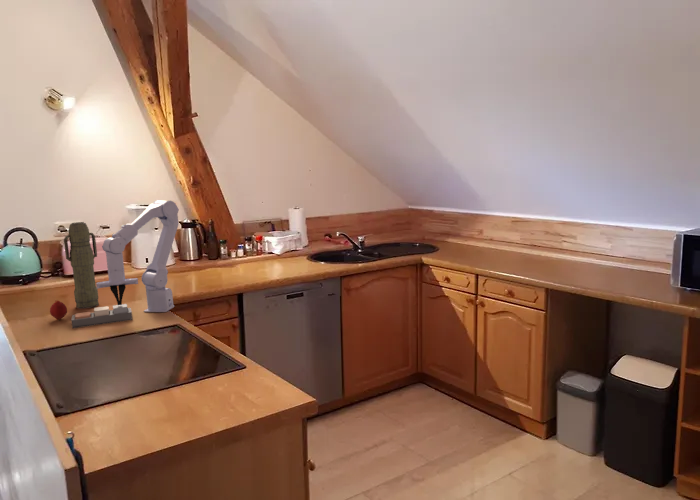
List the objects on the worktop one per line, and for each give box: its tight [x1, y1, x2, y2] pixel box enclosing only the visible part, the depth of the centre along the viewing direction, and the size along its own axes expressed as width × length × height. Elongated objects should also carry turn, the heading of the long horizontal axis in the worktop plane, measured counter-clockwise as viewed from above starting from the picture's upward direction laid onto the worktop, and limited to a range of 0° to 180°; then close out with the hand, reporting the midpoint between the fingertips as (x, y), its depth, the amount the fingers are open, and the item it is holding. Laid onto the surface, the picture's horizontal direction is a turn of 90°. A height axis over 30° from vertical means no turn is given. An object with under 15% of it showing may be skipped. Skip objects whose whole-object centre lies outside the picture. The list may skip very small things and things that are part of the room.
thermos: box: [63, 221, 99, 309], centre depth 237 cm, size 9×12×35 cm
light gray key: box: [112, 303, 129, 314], centre depth 218 cm, size 5×5×3 cm
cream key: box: [93, 305, 110, 316], centre depth 216 cm, size 5×5×3 cm
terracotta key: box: [74, 311, 92, 319], centre depth 213 cm, size 5×5×3 cm
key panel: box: [70, 307, 133, 329], centre depth 216 cm, size 21×8×3 cm, turn 113°
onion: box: [49, 299, 68, 321], centre depth 220 cm, size 6×6×8 cm
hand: (119, 304), depth 218 cm, fingers closed
